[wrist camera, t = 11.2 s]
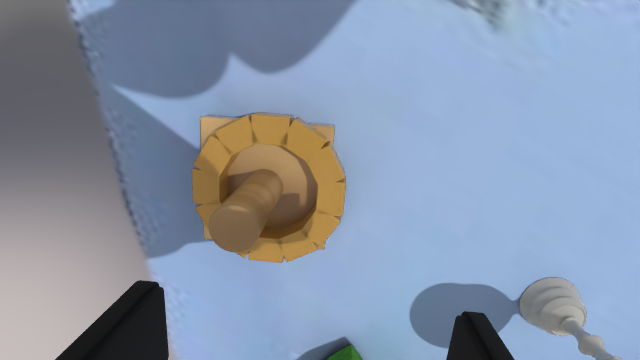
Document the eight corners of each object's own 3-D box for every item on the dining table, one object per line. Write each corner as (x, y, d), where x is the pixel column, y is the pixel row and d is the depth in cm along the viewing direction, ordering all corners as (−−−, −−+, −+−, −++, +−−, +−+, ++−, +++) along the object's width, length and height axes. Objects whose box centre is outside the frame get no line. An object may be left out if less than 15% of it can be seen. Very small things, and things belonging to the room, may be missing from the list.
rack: (207, 115, 25) (134, 129, 16) (334, 124, 25) (333, 145, 16) (210, 231, 28) (149, 300, 19) (325, 241, 28) (319, 316, 19)
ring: (201, 107, 24) (189, 108, 22) (351, 119, 23) (352, 122, 21) (204, 242, 27) (194, 255, 25) (337, 255, 26) (337, 268, 24)
